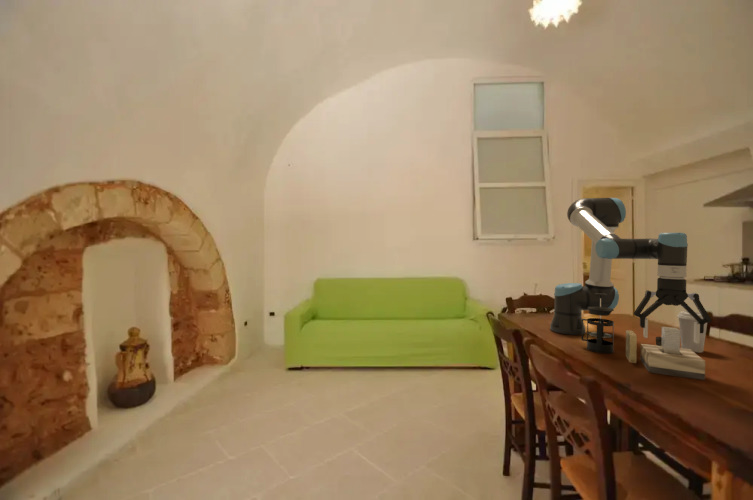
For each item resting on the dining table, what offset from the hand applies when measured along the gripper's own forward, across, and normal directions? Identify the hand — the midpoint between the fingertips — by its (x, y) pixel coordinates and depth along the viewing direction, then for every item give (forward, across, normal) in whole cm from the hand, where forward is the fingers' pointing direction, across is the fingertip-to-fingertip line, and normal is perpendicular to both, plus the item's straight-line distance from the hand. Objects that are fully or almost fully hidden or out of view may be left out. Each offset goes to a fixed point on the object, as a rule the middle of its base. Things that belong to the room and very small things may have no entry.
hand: (670, 339), depth 118 cm
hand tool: (+11, +3, +23) cm, 25 cm away
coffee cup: (+10, +14, +32) cm, 36 cm away
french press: (+10, -19, +14) cm, 26 cm away
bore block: (+10, 0, 0) cm, 10 cm away
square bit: (+8, 0, 0) cm, 8 cm away
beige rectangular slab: (+10, -10, +6) cm, 15 cm away
